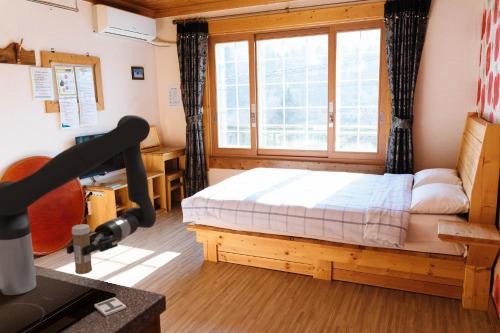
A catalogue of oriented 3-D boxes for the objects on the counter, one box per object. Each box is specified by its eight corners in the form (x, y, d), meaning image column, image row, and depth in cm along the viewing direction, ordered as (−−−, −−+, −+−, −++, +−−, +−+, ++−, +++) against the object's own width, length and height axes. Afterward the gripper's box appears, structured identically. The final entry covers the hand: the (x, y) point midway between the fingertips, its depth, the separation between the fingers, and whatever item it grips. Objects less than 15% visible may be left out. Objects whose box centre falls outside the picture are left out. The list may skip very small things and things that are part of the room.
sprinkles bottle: (93, 272, 113) (90, 226, 110) (76, 276, 110) (73, 229, 108) (90, 266, 116) (87, 222, 114) (73, 270, 114) (70, 225, 112)
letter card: (94, 306, 111) (94, 304, 111) (114, 299, 115) (114, 297, 115) (105, 316, 106) (105, 314, 106) (126, 308, 110) (126, 305, 110)
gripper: (92, 218, 127) (52, 235, 111) (132, 222, 123) (96, 241, 107) (94, 241, 128) (54, 261, 112) (133, 245, 124) (98, 267, 108)
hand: (75, 251), depth 109 cm, fingers closed on sprinkles bottle, 4 cm apart
